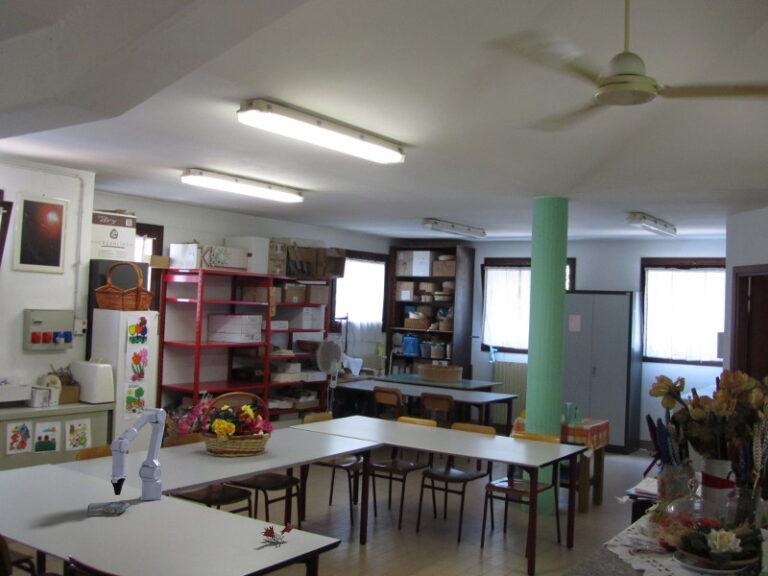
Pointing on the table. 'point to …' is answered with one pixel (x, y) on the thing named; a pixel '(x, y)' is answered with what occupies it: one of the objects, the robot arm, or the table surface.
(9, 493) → the table surface
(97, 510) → the mat
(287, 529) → the figurine
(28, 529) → the table surface
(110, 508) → the clover print pouch
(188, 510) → the table surface
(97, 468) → the table surface
